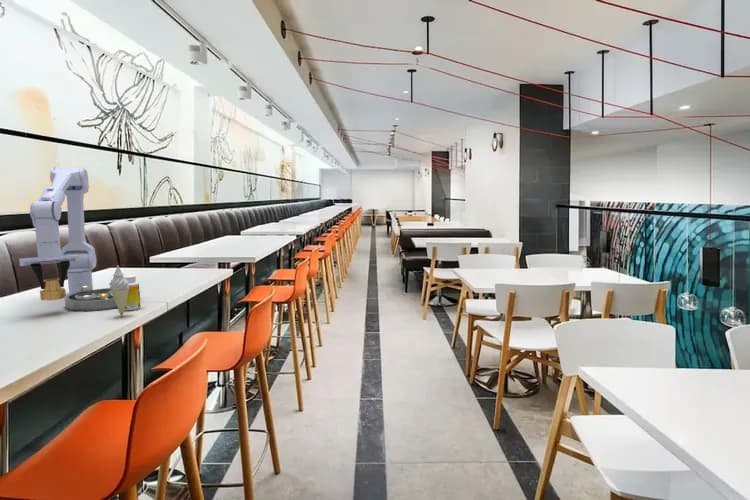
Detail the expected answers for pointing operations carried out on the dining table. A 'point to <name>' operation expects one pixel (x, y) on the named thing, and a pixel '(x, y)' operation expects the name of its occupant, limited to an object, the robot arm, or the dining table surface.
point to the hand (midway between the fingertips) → (52, 287)
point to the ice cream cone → (119, 289)
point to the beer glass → (132, 294)
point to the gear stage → (90, 299)
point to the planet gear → (52, 290)
